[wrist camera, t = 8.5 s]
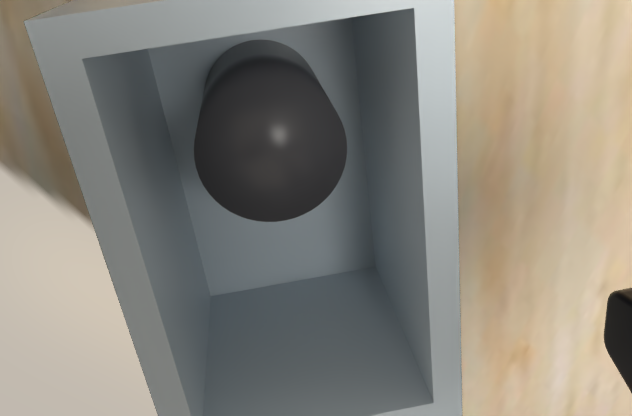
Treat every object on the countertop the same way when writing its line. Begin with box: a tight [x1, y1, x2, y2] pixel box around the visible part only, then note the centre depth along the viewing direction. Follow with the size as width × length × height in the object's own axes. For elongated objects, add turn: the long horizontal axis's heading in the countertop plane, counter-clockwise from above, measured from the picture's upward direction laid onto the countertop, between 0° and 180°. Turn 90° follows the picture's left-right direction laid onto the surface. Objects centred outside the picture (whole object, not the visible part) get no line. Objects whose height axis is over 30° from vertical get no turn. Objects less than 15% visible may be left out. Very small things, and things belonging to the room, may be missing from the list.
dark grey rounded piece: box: [194, 40, 347, 222], centre depth 12 cm, size 3×3×4 cm
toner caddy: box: [24, 0, 462, 416], centre depth 13 cm, size 12×6×6 cm, turn 9°
